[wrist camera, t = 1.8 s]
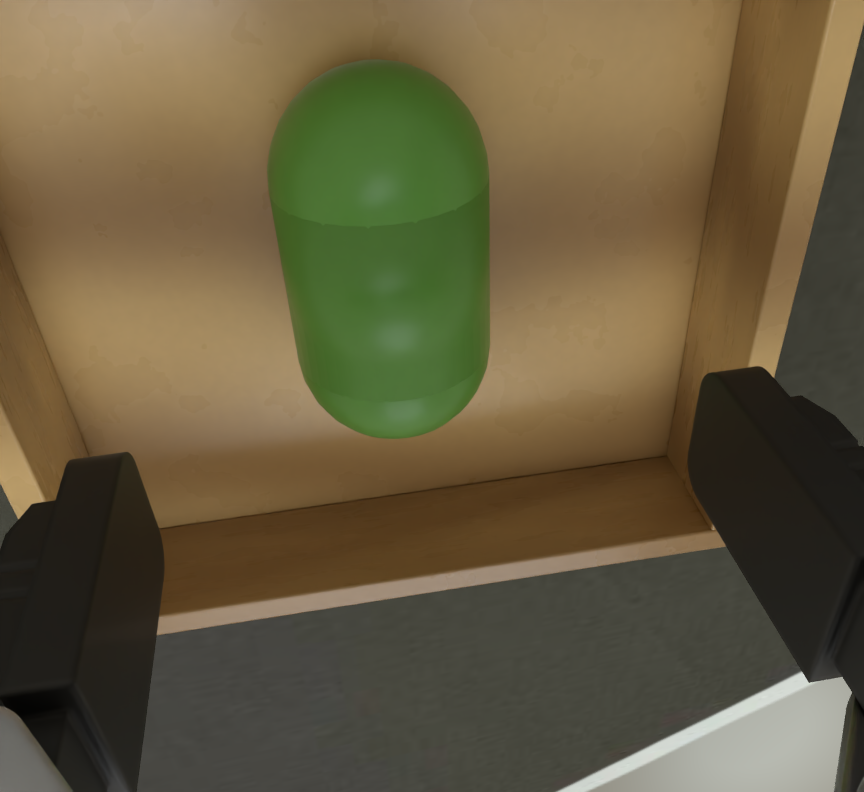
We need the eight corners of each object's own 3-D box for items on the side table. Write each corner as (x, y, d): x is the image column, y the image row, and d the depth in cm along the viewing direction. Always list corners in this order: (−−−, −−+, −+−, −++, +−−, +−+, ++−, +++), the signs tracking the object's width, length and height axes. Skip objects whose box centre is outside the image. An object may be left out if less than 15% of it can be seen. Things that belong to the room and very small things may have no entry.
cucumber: (250, 43, 15) (245, 113, 12) (464, 24, 16) (513, 87, 12) (307, 378, 20) (314, 491, 17) (471, 356, 20) (509, 464, 17)
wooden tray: (-237, -282, 12) (-394, -302, 9) (818, -333, 14) (964, -363, 11) (105, 538, 23) (81, 648, 20) (677, 456, 24) (732, 546, 21)
